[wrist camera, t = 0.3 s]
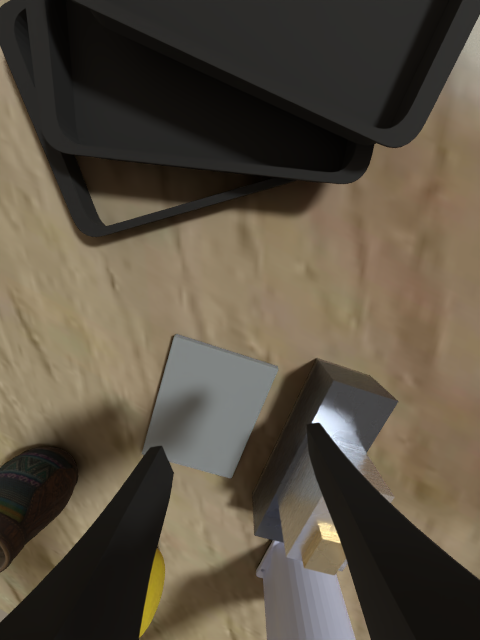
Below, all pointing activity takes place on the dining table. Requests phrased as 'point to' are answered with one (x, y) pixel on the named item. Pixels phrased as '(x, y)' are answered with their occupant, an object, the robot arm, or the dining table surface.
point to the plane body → (337, 419)
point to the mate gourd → (32, 496)
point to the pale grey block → (319, 513)
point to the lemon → (153, 591)
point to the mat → (207, 405)
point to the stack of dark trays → (228, 85)
